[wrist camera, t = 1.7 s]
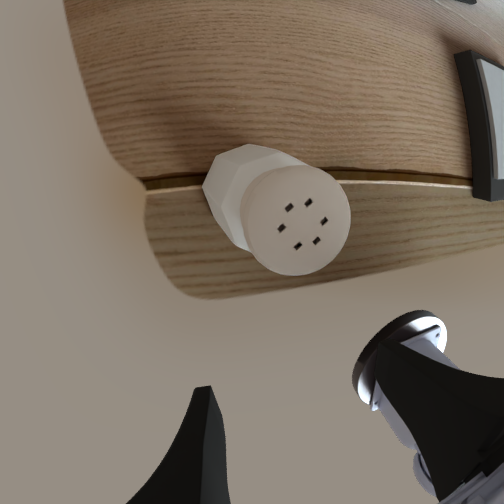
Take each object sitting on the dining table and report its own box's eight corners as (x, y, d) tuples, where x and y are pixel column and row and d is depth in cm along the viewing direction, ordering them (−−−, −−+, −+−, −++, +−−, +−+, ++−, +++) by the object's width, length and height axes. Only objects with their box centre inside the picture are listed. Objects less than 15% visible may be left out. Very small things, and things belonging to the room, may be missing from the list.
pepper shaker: (306, 190, 18) (422, 230, 7) (244, 247, 18) (288, 356, 8) (249, 126, 16) (310, 68, 5) (183, 186, 16) (137, 223, 6)
